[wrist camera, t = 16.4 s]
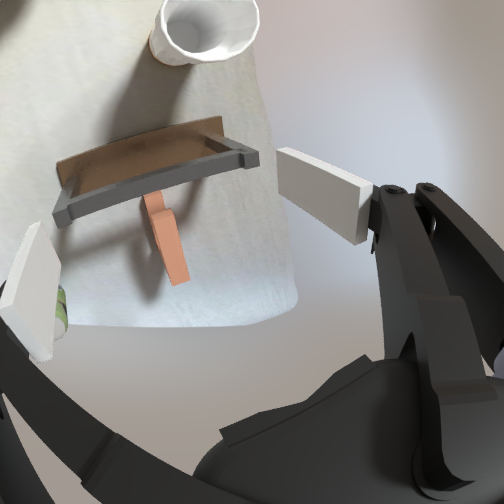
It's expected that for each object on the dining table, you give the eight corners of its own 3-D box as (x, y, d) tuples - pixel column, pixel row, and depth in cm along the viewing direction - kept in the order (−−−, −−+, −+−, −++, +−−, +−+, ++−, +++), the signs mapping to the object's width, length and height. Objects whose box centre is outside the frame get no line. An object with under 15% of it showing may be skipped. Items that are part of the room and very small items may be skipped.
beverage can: (33, 295, 45) (25, 338, 36) (48, 268, 45) (40, 310, 36) (58, 309, 49) (56, 353, 40) (74, 284, 49) (73, 327, 40)
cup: (152, 81, 39) (174, 74, 25) (134, 21, 32) (148, -15, 19) (217, 61, 41) (269, 51, 28) (202, 4, 34) (248, -30, 21)
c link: (158, 249, 54) (172, 286, 45) (142, 193, 47) (153, 221, 38) (173, 244, 55) (190, 279, 46) (159, 188, 48) (173, 214, 39)
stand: (71, 205, 42) (60, 253, 30) (57, 162, 38) (36, 193, 26) (224, 158, 51) (268, 185, 39) (219, 115, 46) (263, 127, 34)
